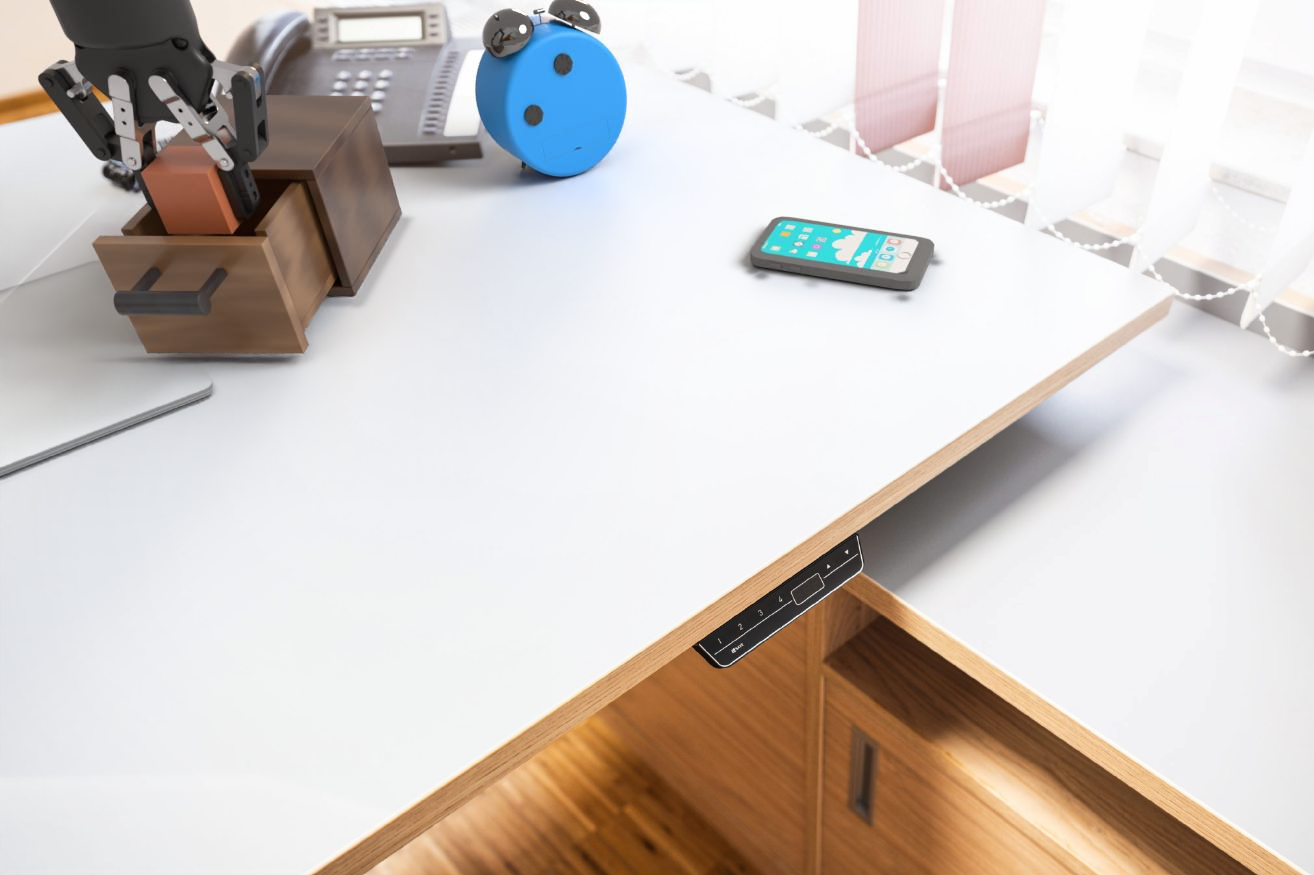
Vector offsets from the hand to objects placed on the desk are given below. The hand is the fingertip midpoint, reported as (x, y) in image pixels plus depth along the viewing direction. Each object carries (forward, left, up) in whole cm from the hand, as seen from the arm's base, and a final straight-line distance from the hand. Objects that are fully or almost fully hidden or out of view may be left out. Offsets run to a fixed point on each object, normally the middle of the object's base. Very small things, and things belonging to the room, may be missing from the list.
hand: (209, 213), depth 75 cm
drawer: (0, -1, -8) cm, 9 cm away
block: (0, 0, -1) cm, 1 cm away
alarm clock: (+20, +29, -10) cm, 36 cm away
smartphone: (+47, +11, -9) cm, 49 cm away
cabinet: (0, +12, -9) cm, 15 cm away
